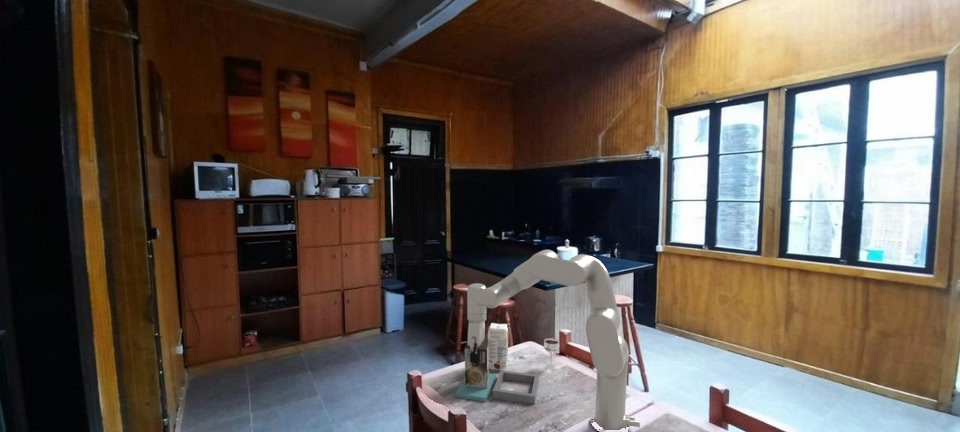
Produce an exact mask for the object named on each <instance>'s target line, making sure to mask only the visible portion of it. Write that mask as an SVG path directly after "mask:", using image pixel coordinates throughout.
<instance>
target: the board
mask: <svg viewBox="0 0 960 432" xmlns="http://www.w3.org/2000/svg"><path fill="white" fill-rule="evenodd" d="M496 376H497V375H496V373H490V372H489V383H488V387H487V388H478V387H465V376H464V378H463V380H462V381H461V382H460V384H459V386H458V387H457V390H456V392H455V394H454V395H455V398H461V399H466V400H473V401H479V402H487V400H488V397H489V395H490V392H491V390H492V388H493V385H494V383H495V380H496V378H497V377H496Z"/></svg>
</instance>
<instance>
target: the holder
mask: <svg viewBox="0 0 960 432" xmlns="http://www.w3.org/2000/svg"><path fill="white" fill-rule="evenodd" d="M504 380H508V381H514V382H520V383H521V382H523V383H529V384H532V389H531V393H529V392H528V393H527V392H521V391H513V390H509V389H508V390H506V389H502V388H501V387H502V384H503V381H504ZM539 384H540V374H533V373H525V372H518V371H510V370H504V371H503V370H501V371H499V374H498V376H497V379H496V381H495V384H494V387H493V389H492V398H493V399H496V400H497V399H498V400H503V401H511V402H517V403H524V404H531V405H536V399H537V394H538V388H539Z"/></svg>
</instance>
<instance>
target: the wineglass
mask: <svg viewBox="0 0 960 432" xmlns="http://www.w3.org/2000/svg"><path fill="white" fill-rule="evenodd" d="M543 342H544V343H543V348H544V350H545V351H546V353H549V354H550V357H549V358H550V364H549V363H548V364H546V365H545V368H546V369H547V370H549V369H554V368H555V366H556V365H555V364H552V363H553V360H552V359H553V355H554V354H555V353H556V352H558V351H559V349H560V341H559V339H557V338H554V337H548V338H544V340H543ZM554 365H555V366H554Z"/></svg>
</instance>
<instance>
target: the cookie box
mask: <svg viewBox="0 0 960 432" xmlns="http://www.w3.org/2000/svg"><path fill="white" fill-rule="evenodd" d="M474 345H477V344H474ZM474 348H475V350H476V347H474ZM477 353H478V363H471V362H470V346H468V341H467V342H466V344H465V347H464V377H465V387H478V388H487V387H488V383H489V373H490V371H489V370H490V369H489V343H488V341H487V342H485V341H484V342H482V344H481V345H480V346H479V347H478V352H477Z"/></svg>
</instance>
